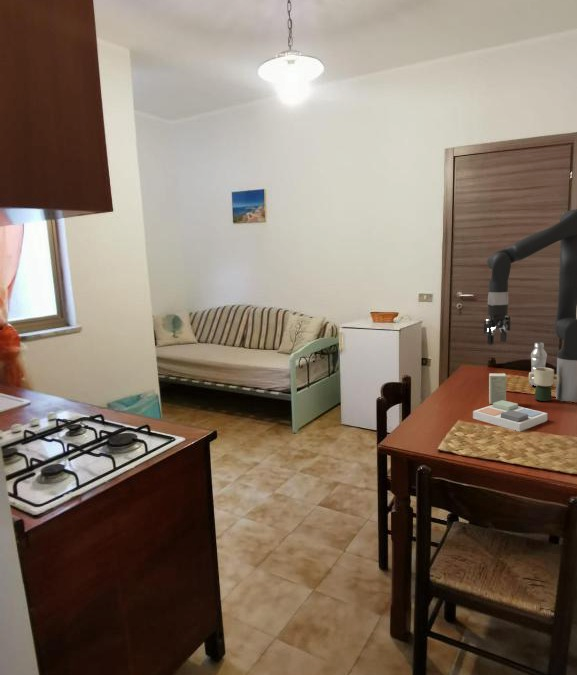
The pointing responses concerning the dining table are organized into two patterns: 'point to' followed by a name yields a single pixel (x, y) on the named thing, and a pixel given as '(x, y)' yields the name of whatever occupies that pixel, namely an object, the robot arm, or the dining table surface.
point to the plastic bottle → (537, 359)
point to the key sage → (505, 405)
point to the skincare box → (497, 387)
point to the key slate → (530, 412)
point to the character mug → (543, 382)
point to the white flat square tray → (508, 423)
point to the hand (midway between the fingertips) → (496, 343)
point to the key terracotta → (491, 411)
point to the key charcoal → (514, 416)
